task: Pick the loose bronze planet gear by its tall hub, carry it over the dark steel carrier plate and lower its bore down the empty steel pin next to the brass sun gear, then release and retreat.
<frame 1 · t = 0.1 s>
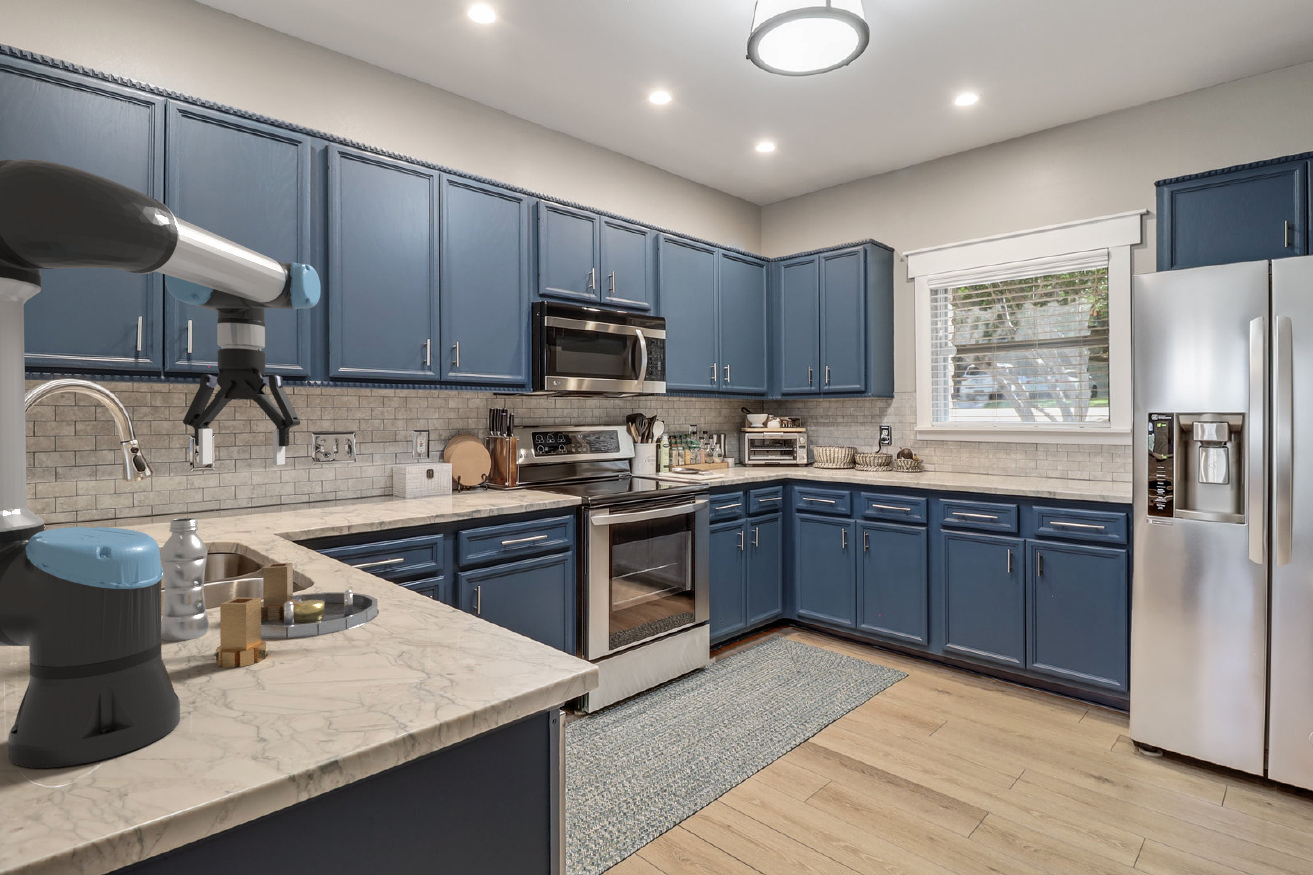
hand: (242, 464, 127), 28 cm above the counter, fingers open, 13 cm apart
planet gear: (241, 660, 103), on the counter
seated gear: (278, 615, 123), resting on carrier
carrier: (308, 624, 121), on the counter
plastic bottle: (185, 643, 111), on the counter
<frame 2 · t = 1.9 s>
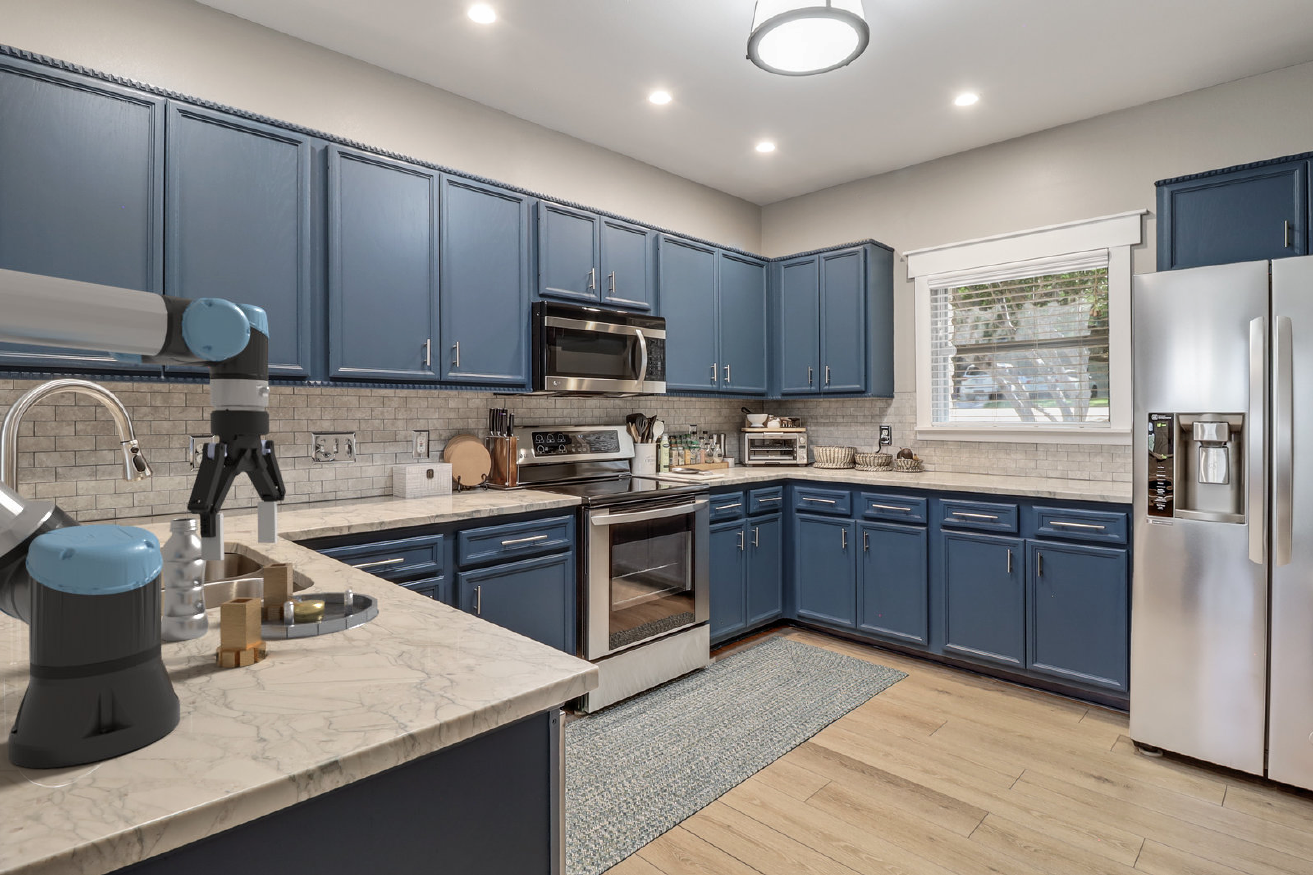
hand: (242, 550, 103), 16 cm above the counter, fingers open, 13 cm apart
nothing on the counter moved.
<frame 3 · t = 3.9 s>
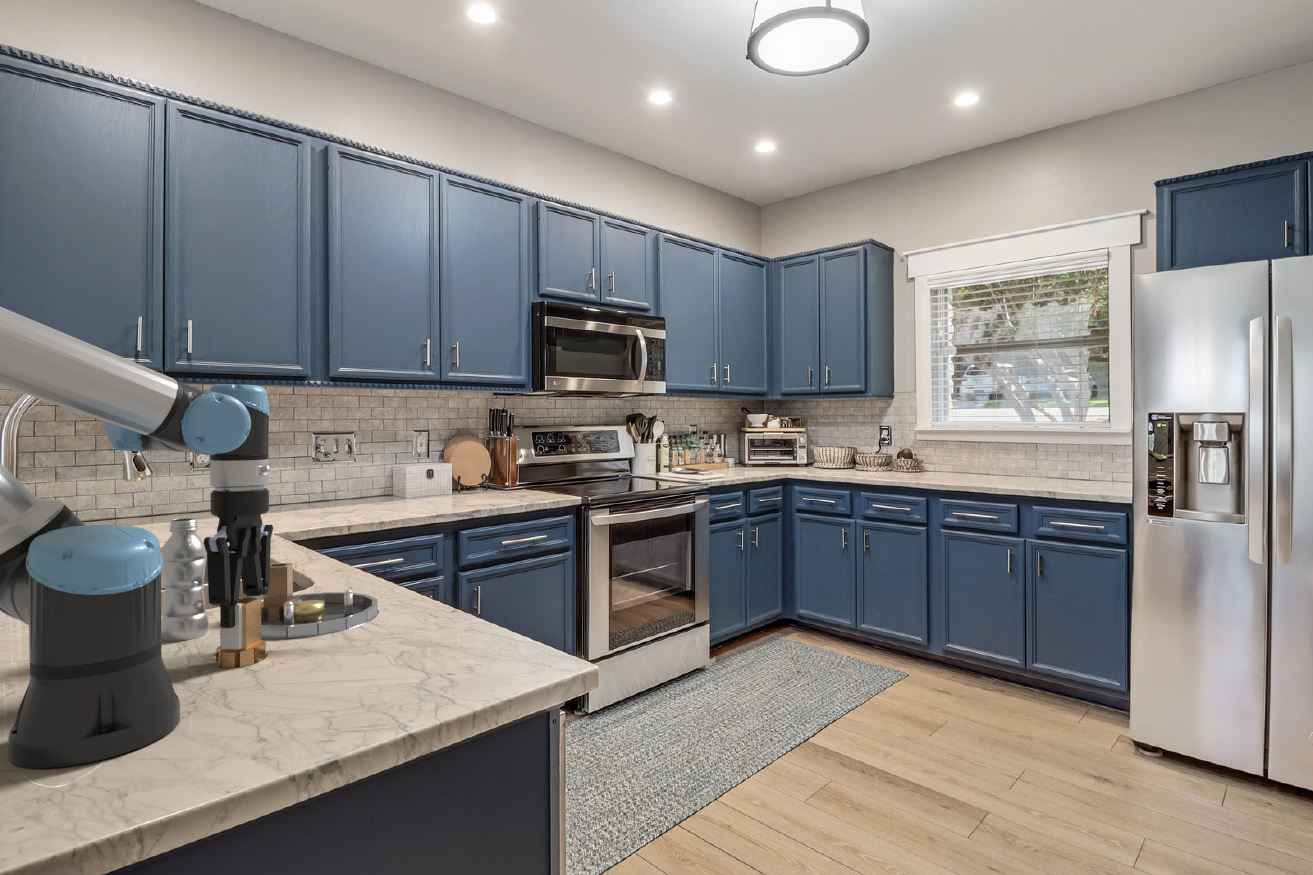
hand: (241, 642, 103), 3 cm above the counter, fingers closed on planet gear, 4 cm apart
planet gear: (241, 660, 103), on the counter, touching gripper
everything else where it was.
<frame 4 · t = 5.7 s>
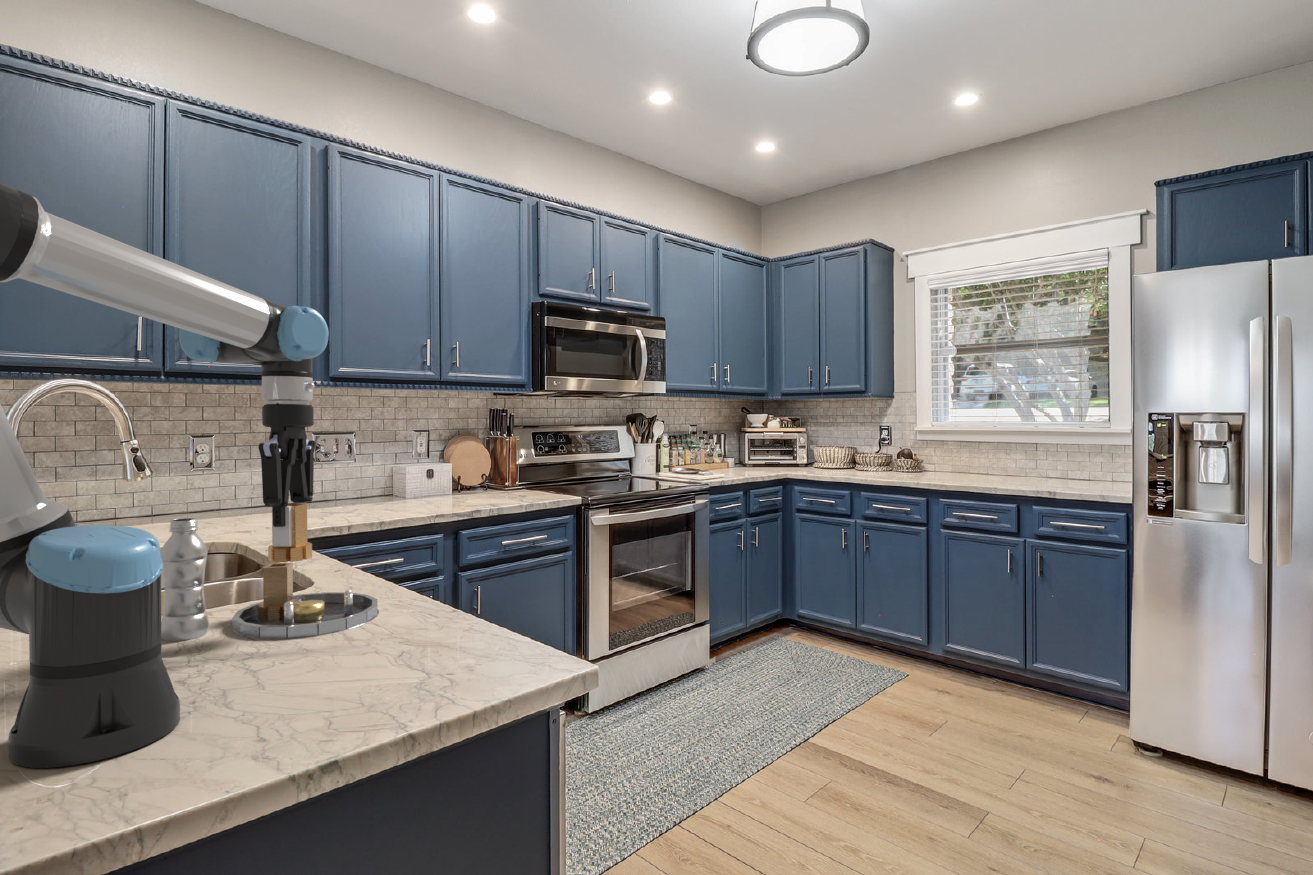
hand: (290, 543, 114), 16 cm above the counter, fingers closed on planet gear, 4 cm apart
planet gear: (290, 558, 114), point 13 cm above the counter, touching gripper
everything else where it was.
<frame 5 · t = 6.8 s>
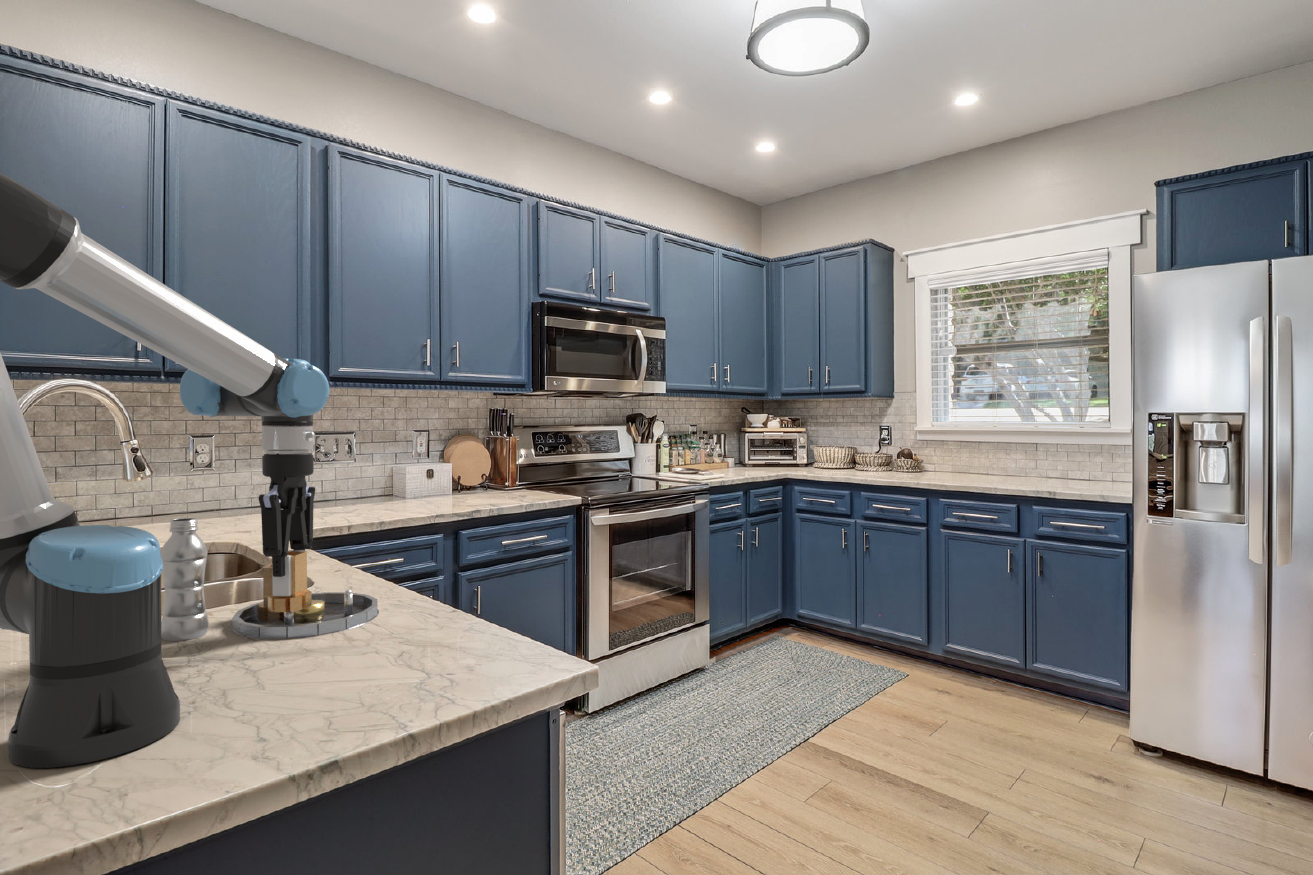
hand: (289, 591, 115), 7 cm above the counter, fingers closed on planet gear, 4 cm apart
planet gear: (290, 606, 115), point 5 cm above the counter, touching gripper
everything else where it was.
when the fingers open (5 cm above the counter, at t = 7.5 s): planet gear stays where it is, resting on carrier.
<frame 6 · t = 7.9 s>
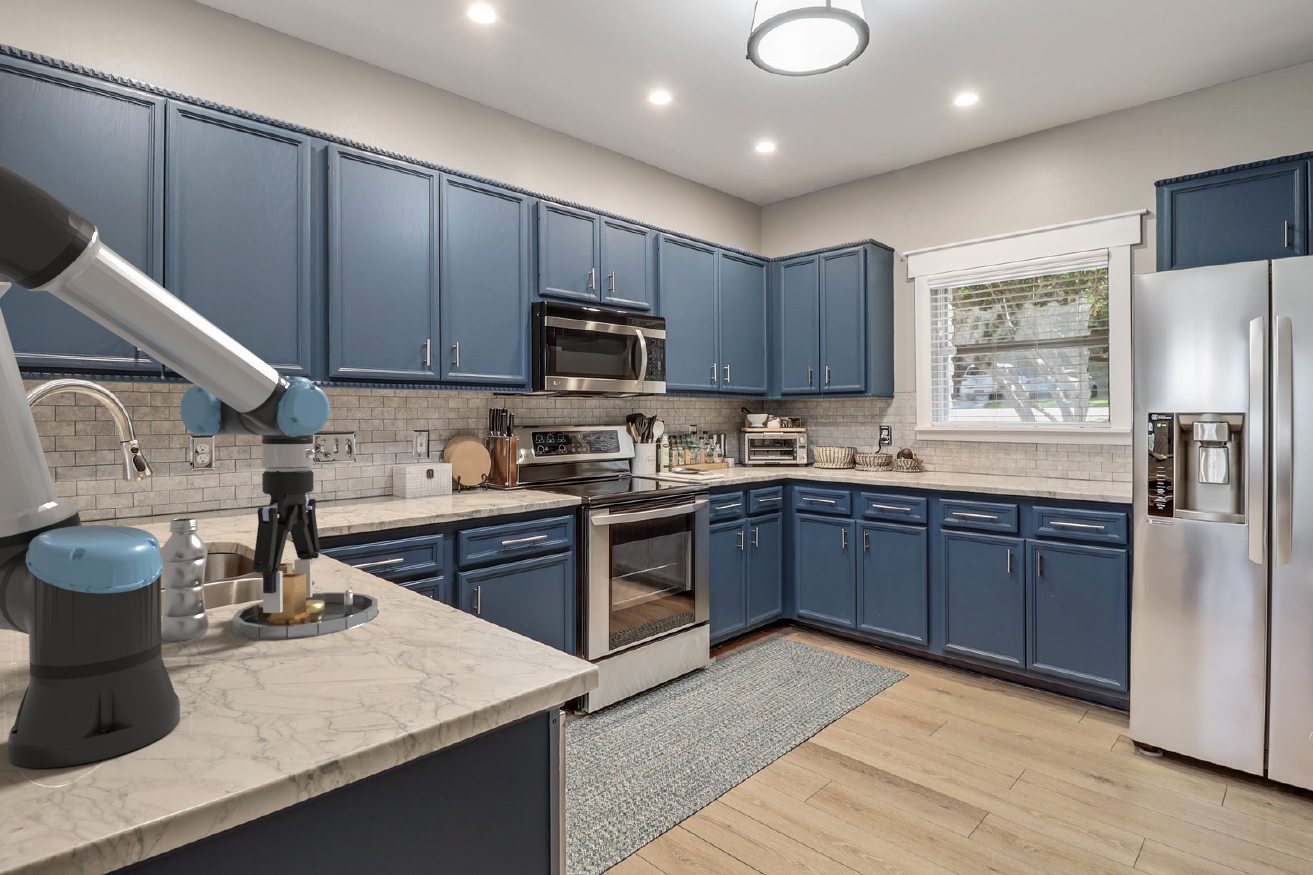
hand: (288, 604, 114), 5 cm above the counter, fingers open, 9 cm apart
planet gear: (289, 629, 114), point 1 cm above the counter, touching carrier
everything else where it was.
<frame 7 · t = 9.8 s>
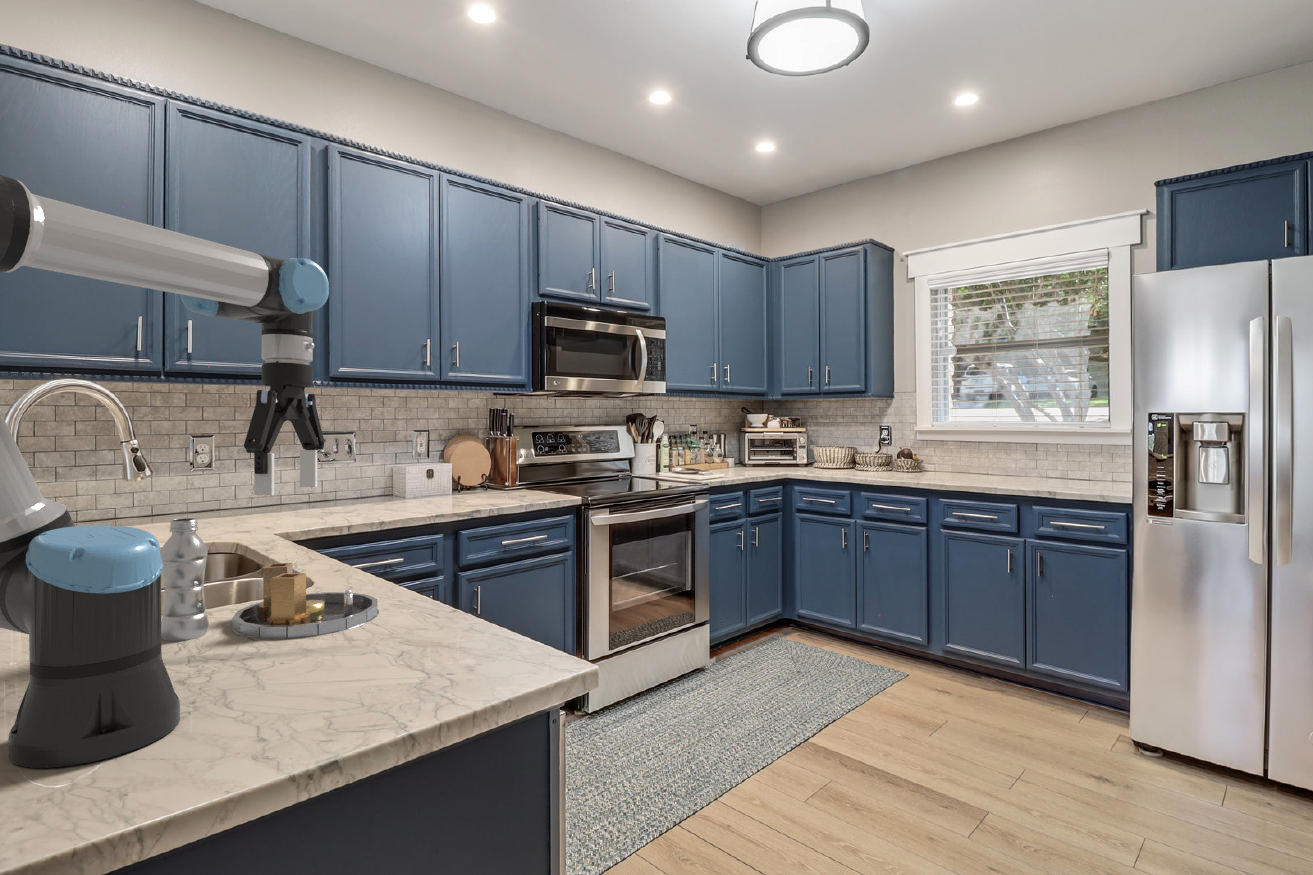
hand: (287, 490, 114), 24 cm above the counter, fingers open, 13 cm apart
nothing on the counter moved.
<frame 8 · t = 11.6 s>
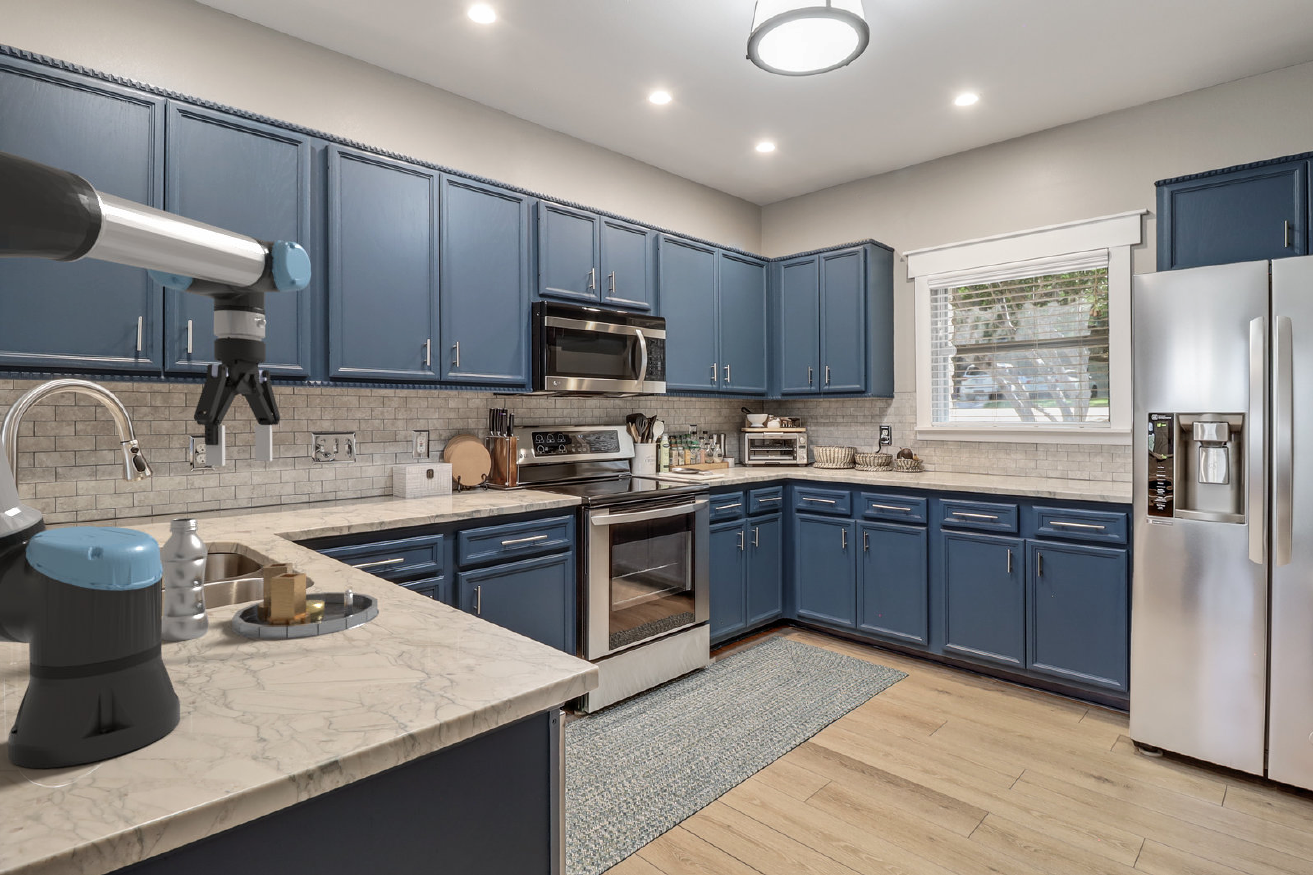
hand: (241, 463, 117), 29 cm above the counter, fingers open, 13 cm apart
nothing on the counter moved.
at the end: planet gear 0.0 cm from the target spot on the carrier, point 1.2 cm above the carrier's base; planet gear tilted 0°; the gripper is holding nothing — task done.
